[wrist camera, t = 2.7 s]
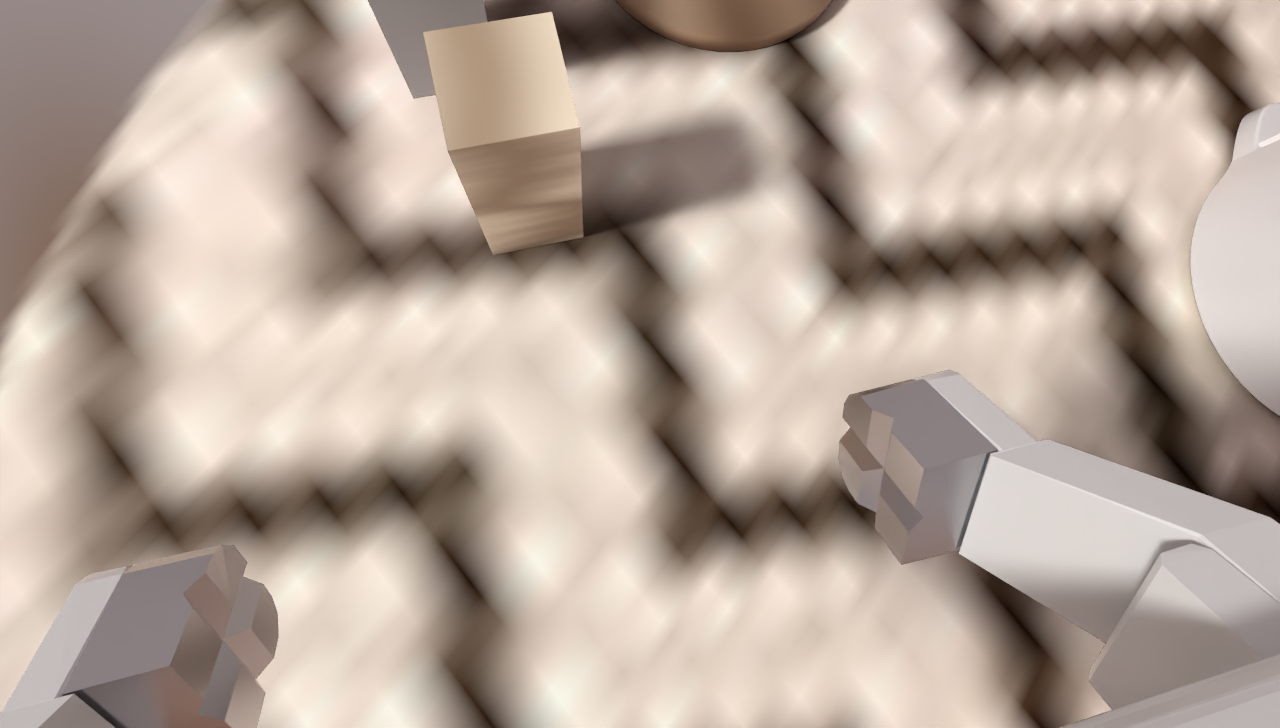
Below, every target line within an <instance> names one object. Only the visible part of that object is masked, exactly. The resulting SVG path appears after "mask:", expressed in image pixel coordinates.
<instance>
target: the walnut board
mask: <svg viewBox="0 0 1280 728" xmlns="http://www.w3.org/2000/svg"><path fill="white" fill-rule="evenodd" d="M616 1H617V2H618V3H619V4H620V5H621V7H622V8H623V9H624V10H625V11H627V12H628V13H629V14H630V15H631V16H632V17H633V18H635V19H636V20H637V21H638V22H640V23H641V24H643V25H644V26H646V27H647V28H649V29H650V30H652V31H654V32H656V33H658V34H660V35H661V36H663V37H665V38H667V39H670V40H673V41H675V42H678V43H680V44H683V45H687V46H691V47H695V48H699V49H704V50H712V51H722V52H738V51H747V50H755V49H759V48H763V47H768V46H771V45H774V44H777V43H779V42H782V41H784V40H787V39H789V38H790V37H792V36H794V35H796V34H798V33H800V32H801V31H802V30H804V29H805V28H806V27H808V26H809V25H811V24H812V23H813V22H814V21H815V20H816V19H817V18H818V17H819V16H820V15H821V14H822V13H823V12H824V11H825V9H826V8H827V7H828V5H829V4H830V3H831V1H832V0H616Z"/></svg>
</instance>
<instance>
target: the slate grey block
mask: <svg viewBox="0 0 1280 728" xmlns="http://www.w3.org/2000/svg"><path fill="white" fill-rule="evenodd" d="M368 2H369V4H370V6H371V8H372V10H373V12H374V15H375V17H376V19H377V21H378V23H379V25H380V27H381V30H382V32H383V34H384V36H385V38H386V40H387V42H388V44H389V47H390V49H391V51H392V53H393V55H394V57H395V59H396V62H397V64H398V66H399V68H400V70H401V72H402V74H403V77H404V79H405V81H406V83H407V85H408V87H409V89H410V92H411V94H412V96H413V98H419V97H425V96H431V95H436V92H435V87H434V82H433V78H432V73H431V68H430V63H429V58H428V54H427V49H426V44H425V39H424V34H423V32H427V31H434V30H440V29H446V28H453V27H459V26H465V25H472V24H478V23H484V22H488V20H487V15H486V11H485V6H484V2H483V0H368Z"/></svg>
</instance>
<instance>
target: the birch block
mask: <svg viewBox="0 0 1280 728" xmlns="http://www.w3.org/2000/svg"><path fill="white" fill-rule="evenodd" d="M423 34H424V39H425V44H426V49H427V54H428V58H429V63H430V68H431V73H432V78H433V82H434V87H435V92H436V97H437V102H438V107H439V111H440V116H441V121H442V126H443V131H444V135H445V140H446V145H447V150H448V153H449V155H450V157H451V160H452V162H453V164H454V166H455V169H456V171H457V173H458V176H459V178H460V180H461V182H462V185H463V187H464V189H465V192H466V194H467V196H468V198H469V201H470V203H471V205H472V208H473V210H474V212H475V214H476V217H477V219H478V221H479V224H480V226H481V228H482V230H483V233H484V235H485V237H486V240H487V242H488V244H489V246H490V249H491V251H492V253H493V255H497V254H502V253H507V252H512V251H517V250H522V249H527V248H532V247H537V246H542V245H547V244H552V243H557V242H562V241H567V240H572V239H577V238H582V237H583V208H582V175H581V142H580V125H579V121H578V117H577V113H576V109H575V105H574V100H573V96H572V92H571V88H570V84H569V80H568V76H567V72H566V68H565V64H564V59H563V55H562V51H561V47H560V43H559V39H558V35H557V31H556V27H555V23H554V19H553V14H552V12H547V13H541V14H535V15H529V16H522V17H516V18H510V19H503V20H497V21H491V22H484V23H478V24H472V25H465V26H459V27H453V28H446V29H440V30H434V31H427V32H423Z"/></svg>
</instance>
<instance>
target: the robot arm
mask: <svg viewBox="0 0 1280 728" xmlns="http://www.w3.org/2000/svg"><path fill="white" fill-rule="evenodd" d="M1191 278H1192V285H1193V291H1194V295H1195V300H1196V303H1197V307H1198V310H1199V313H1200V316H1201V319H1202V322H1203V324H1204V326H1205V329H1206V331H1207V333H1208V335H1209V337H1210V339H1211V341H1212V343H1213V345H1214V347H1215V348H1216V350H1217V352H1218V354H1219V355H1220V357H1221V358H1222V360H1223V361H1224V363H1225V364H1226V365H1227V367H1228V368H1229V369H1230V371H1231V372H1232V373H1233V374H1234V376H1235V377H1236V378H1237V379H1238V380H1239V382H1240V383H1241V384H1242V385H1243V386H1244V387H1245V388H1246V389H1247V390H1248V391H1249V392H1250V393H1251V394H1252V395H1253V396H1254V397H1256V398H1257V399H1258V400H1259V401H1260V402H1261V403H1263V404H1264V405H1265V406H1266V407H1268V408H1269V409H1270V410H1272V411H1273V412H1275V413H1276V414H1277V415H1279V416H1280V103H1272V104H1269V105H1266V106H1264V107H1262V108H1260V109H1257V110H1255V111H1253V112H1251V113H1249V114H1247V115H1246V116H1245V117H1244V118H1243V119H1242V121H1241V123H1240V125H1239V128H1238V132H1237V136H1236V141H1235V146H1234V152H1233V159H1232V162H1231V164H1230V166H1229V168H1228V170H1227V171H1226V173H1225V174H1224V176H1223V177H1222V178H1221V180H1220V181H1219V182H1218V183H1217V185H1216V186H1215V187H1214V189H1213V190H1212V191H1211V193H1210V194H1209V196H1208V197H1207V199H1206V201H1205V203H1204V205H1203V206H1202V209H1201V211H1200V213H1199V216H1198V219H1197V222H1196V225H1195V229H1194V233H1193V238H1192V245H1191ZM843 418H844V420H845V421H846V422H847V424H848V425H849V426H850V428H849V430H848V431H847V432H846V433H845V435H844V436H843V437H842V438H841V440H840V442H839V455H838V459H839V464H840V469H841V473H842V477H843V479H844V481H845V483H846V486H847V488H848V490H849V491H850V493H851V494H852V496H853V497H854V499H855V500H856V502H857V503H858V504H860V505H862V506H864V507H866V508H868V509H870V510H872V511H874V512H876V517H875V526H874V527H875V529H876V530H877V532H878V533H879V534H880V536H881V537H882V539H883V540H884V541H885V543H886V544H887V546H888V547H889V548H890V550H891V551H892V553H893V554H894V555H895V557H896V558H897V560H898V561H899V562H900V564H901V565H903V564H907V563H911V562H915V561H919V560H923V559H927V558H931V557H934V556H938V555H942V554H946V553H950V552H954V551H958V550H960V551H959V554H960V555H962V556H964V557H965V558H967V559H969V560H970V561H972V562H974V563H975V564H977V565H978V566H980V567H982V568H983V569H985V570H987V571H988V572H990V573H992V574H993V575H995V576H996V577H998V578H1000V579H1001V580H1003V581H1005V582H1006V583H1008V584H1010V585H1011V586H1013V587H1015V588H1016V589H1018V590H1019V591H1021V592H1023V593H1024V594H1026V595H1028V596H1029V597H1031V598H1033V599H1034V600H1036V601H1037V602H1039V603H1041V604H1042V605H1044V606H1046V607H1047V608H1049V609H1051V610H1052V611H1054V612H1055V613H1057V614H1059V615H1060V616H1062V617H1064V618H1065V619H1067V620H1069V621H1070V622H1072V623H1074V624H1075V625H1077V626H1078V627H1080V628H1082V629H1083V630H1085V631H1087V632H1088V633H1090V634H1092V635H1093V636H1095V637H1096V638H1098V639H1100V640H1101V641H1103V642H1105V643H1106V644H1105V646H1104V648H1103V649H1102V651H1101V652H1100V654H1099V656H1098V657H1097V659H1096V661H1095V662H1094V664H1093V666H1092V667H1091V669H1090V675H1089V683H1090V684H1091V685H1092V686H1093V687H1094V689H1095V690H1096V691H1097V692H1098V693H1099V695H1100V696H1101V697H1102V698H1103V699H1104V701H1105V702H1106V703H1107V704H1108V706H1109V707H1110V708H1111V709H1112V710H1110V711H1107V712H1105V713H1102V714H1099V715H1096V716H1093V717H1090V718H1087V719H1084V720H1081V721H1078V722H1075V723H1072V724H1069V725H1066V726H1063V727H1060V728H1280V524H1279V523H1277V522H1276V521H1275V520H1273V519H1272V518H1270V517H1267V516H1265V515H1262V514H1259V513H1256V512H1253V511H1250V510H1248V509H1245V508H1242V507H1239V506H1236V505H1233V504H1231V503H1228V502H1225V501H1222V500H1219V499H1216V498H1213V497H1211V496H1208V495H1205V494H1202V493H1199V492H1196V491H1194V490H1191V489H1188V488H1185V487H1182V486H1179V485H1177V484H1174V483H1171V482H1168V481H1165V480H1162V479H1159V478H1157V477H1154V476H1151V475H1148V474H1145V473H1142V472H1140V471H1137V470H1134V469H1131V468H1128V467H1125V466H1123V465H1120V464H1117V463H1114V462H1111V461H1108V460H1105V459H1103V458H1100V457H1097V456H1094V455H1091V454H1088V453H1086V452H1083V451H1080V450H1077V449H1074V448H1071V447H1069V446H1066V445H1063V444H1060V443H1057V442H1054V441H1052V440H1049V439H1046V440H1041V441H1036V440H1035V439H1034V438H1032V437H1031V436H1030V435H1029V434H1028V433H1027V432H1026V431H1024V430H1023V429H1022V428H1021V427H1020V426H1019V425H1018V424H1016V423H1015V422H1014V421H1013V420H1012V419H1011V418H1010V417H1008V416H1007V415H1006V414H1005V413H1004V412H1003V411H1002V410H1000V409H999V408H998V407H997V406H996V405H995V404H994V403H992V402H991V401H990V400H989V399H988V398H987V397H986V396H984V395H983V394H982V393H981V392H980V391H979V390H978V389H976V388H975V387H974V386H973V385H972V384H971V383H970V382H968V381H967V380H966V379H965V378H964V377H963V376H962V375H960V374H959V373H957V372H954V371H951V370H946V371H942V372H938V373H934V374H930V375H926V376H922V377H918V378H915V379H914V380H907V381H903V382H899V383H895V384H891V385H887V386H883V387H879V388H875V389H871V390H867V391H863V392H859V393H855V394H851V395H849V396H848V398H847V400H846V402H845V403H844V410H843ZM246 565H247V561H246V560H245V559H244V557H243V556H242V555H241V554H240V552H239V551H238V550H237V549H236V548H235V546H234V545H219V546H214V547H209V548H205V549H200V550H195V551H191V552H186V553H182V554H177V555H172V556H168V557H163V558H158V559H154V560H149V561H144V562H140V563H135V564H134V565H131V566H126V567H121V568H116V569H112V570H107V571H102V572H97V573H93V574H89V575H88V576H86V577H85V578H84V579H82V580H81V581H80V582H78V583H77V584H76V585H75V586H74V588H73V589H72V591H71V593H70V594H69V596H68V598H67V600H66V601H65V603H64V605H63V607H62V608H61V610H60V612H59V614H58V615H57V617H56V619H55V621H54V622H53V624H52V626H51V628H50V629H49V631H48V633H47V635H46V636H45V638H44V640H43V642H42V643H41V645H40V647H39V648H38V650H37V652H36V654H35V655H34V657H33V659H32V661H31V662H30V664H29V666H28V668H27V669H26V671H25V673H24V675H23V676H22V678H21V680H20V682H19V683H18V685H17V687H16V689H15V690H14V692H13V694H12V695H11V697H10V699H9V701H8V702H7V704H6V706H5V708H4V709H3V711H2V712H1V713H0V728H257V725H258V721H259V717H260V713H261V709H262V705H263V701H264V697H265V691H264V690H263V688H262V687H261V685H260V684H259V682H258V681H257V677H258V676H259V675H260V674H261V673H262V671H263V670H264V669H265V668H266V667H267V665H268V664H269V663H270V662H271V661H272V659H273V658H274V655H275V650H276V645H277V641H278V614H277V610H276V607H275V604H274V601H273V598H272V596H271V595H270V593H269V592H268V590H267V589H266V587H265V586H264V584H262V583H259V582H256V581H254V580H251V579H248V578H246V577H243V574H244V571H245V568H246Z"/></svg>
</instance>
